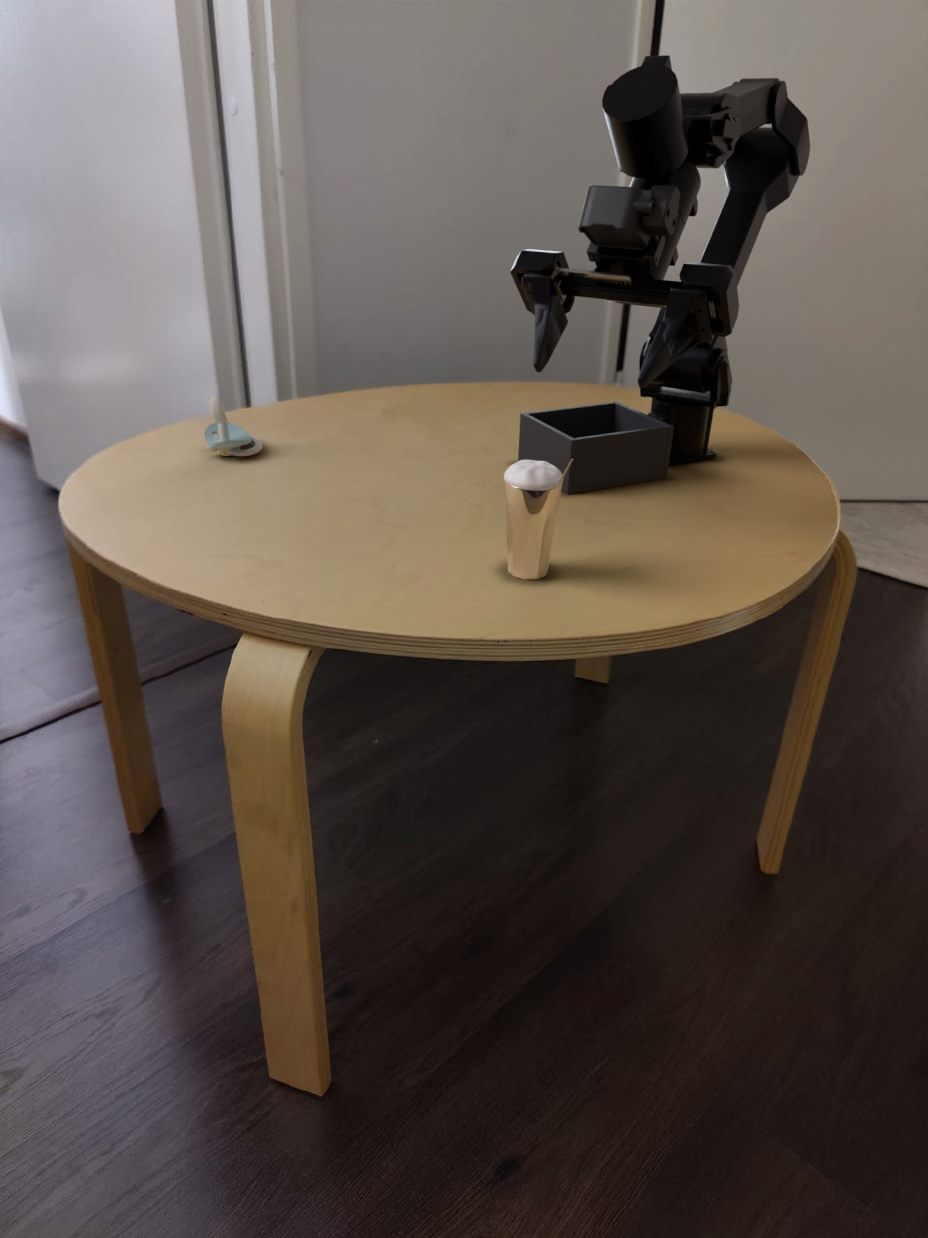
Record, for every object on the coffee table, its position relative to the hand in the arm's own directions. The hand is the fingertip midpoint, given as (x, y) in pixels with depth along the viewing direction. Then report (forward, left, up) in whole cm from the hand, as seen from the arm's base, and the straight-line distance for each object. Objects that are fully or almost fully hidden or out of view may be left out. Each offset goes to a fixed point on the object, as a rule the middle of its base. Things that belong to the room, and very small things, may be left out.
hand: (587, 376), depth 70 cm
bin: (-10, -13, -14) cm, 22 cm away
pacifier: (+23, -34, -14) cm, 43 cm away
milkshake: (+8, +6, -14) cm, 17 cm away
